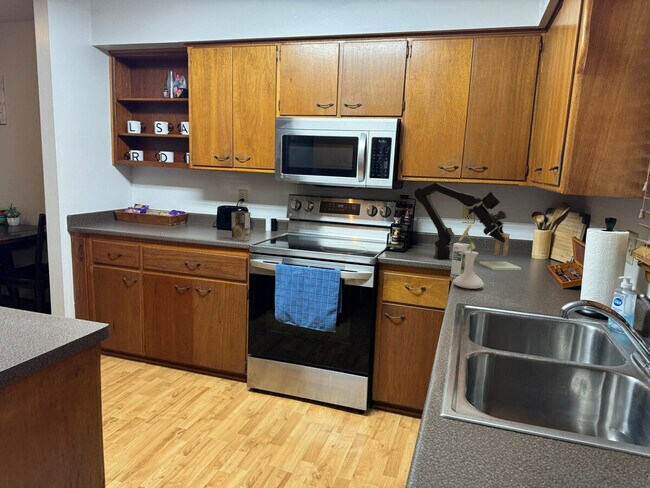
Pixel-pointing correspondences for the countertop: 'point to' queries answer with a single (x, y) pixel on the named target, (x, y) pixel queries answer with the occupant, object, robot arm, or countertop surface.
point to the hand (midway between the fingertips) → (505, 241)
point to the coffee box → (241, 226)
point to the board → (499, 265)
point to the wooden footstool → (506, 243)
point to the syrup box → (459, 259)
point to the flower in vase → (469, 268)
